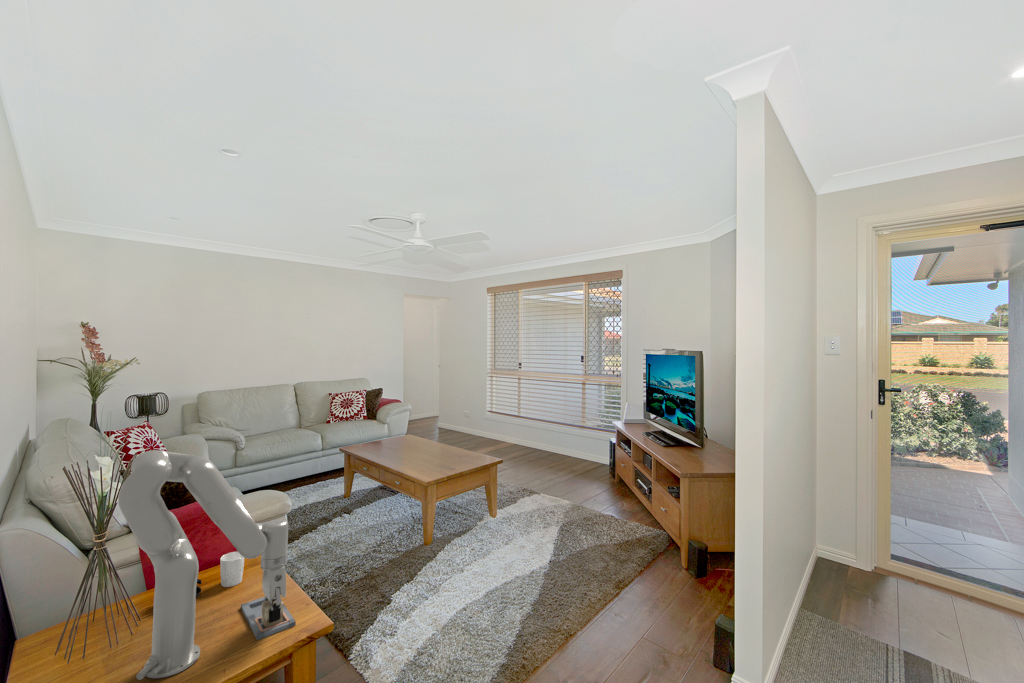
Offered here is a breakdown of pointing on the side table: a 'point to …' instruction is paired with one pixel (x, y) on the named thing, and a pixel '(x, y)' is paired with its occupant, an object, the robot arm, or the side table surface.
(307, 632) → the side table surface
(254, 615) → the grey slotted tray
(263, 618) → the birch block
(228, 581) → the white cup
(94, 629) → the side table surface
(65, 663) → the side table surface
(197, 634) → the side table surface
